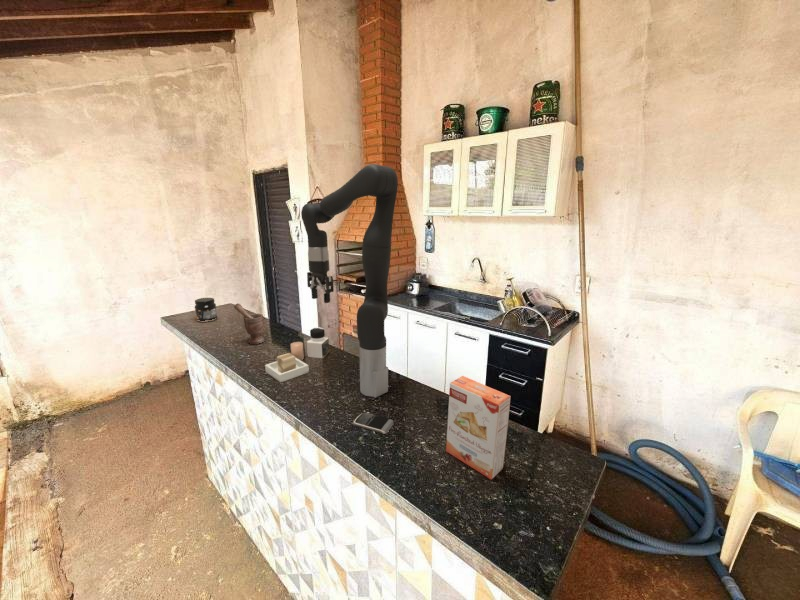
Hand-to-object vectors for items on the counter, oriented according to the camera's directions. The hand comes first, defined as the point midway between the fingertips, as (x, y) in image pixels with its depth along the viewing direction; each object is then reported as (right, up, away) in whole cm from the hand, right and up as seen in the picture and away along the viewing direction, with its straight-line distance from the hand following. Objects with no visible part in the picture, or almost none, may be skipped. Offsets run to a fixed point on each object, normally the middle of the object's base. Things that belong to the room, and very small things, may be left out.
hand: (320, 300), depth 133 cm
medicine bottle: (-5, -24, +19) cm, 31 cm away
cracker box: (+50, -42, -44) cm, 78 cm away
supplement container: (-79, -11, +63) cm, 102 cm away
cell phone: (+23, -38, -29) cm, 53 cm away
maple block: (-14, -28, +2) cm, 31 cm away
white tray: (-14, -28, +2) cm, 31 cm away
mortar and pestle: (-39, -20, +31) cm, 54 cm away
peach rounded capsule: (-13, -25, +14) cm, 32 cm away
